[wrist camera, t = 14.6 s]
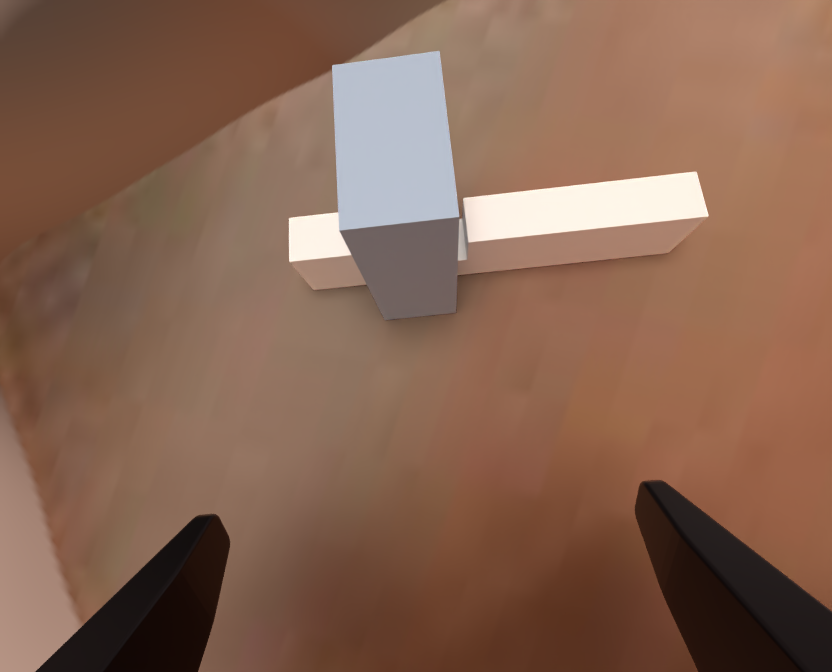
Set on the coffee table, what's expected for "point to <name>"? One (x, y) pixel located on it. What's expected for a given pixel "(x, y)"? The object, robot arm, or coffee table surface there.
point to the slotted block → (398, 182)
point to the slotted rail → (531, 228)
